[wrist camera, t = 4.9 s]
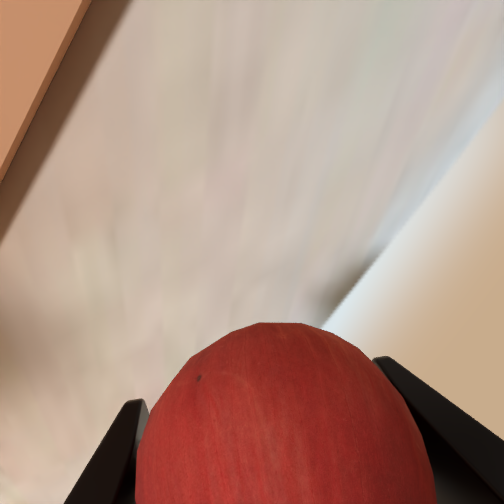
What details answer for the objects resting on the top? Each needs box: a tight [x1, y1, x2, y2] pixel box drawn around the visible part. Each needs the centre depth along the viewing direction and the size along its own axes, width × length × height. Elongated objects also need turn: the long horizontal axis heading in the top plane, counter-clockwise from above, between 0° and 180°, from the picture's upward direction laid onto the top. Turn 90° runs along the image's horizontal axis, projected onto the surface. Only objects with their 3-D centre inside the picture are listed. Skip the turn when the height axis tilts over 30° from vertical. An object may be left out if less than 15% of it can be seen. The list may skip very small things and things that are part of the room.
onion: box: [135, 323, 437, 504], centre depth 7 cm, size 6×6×8 cm
